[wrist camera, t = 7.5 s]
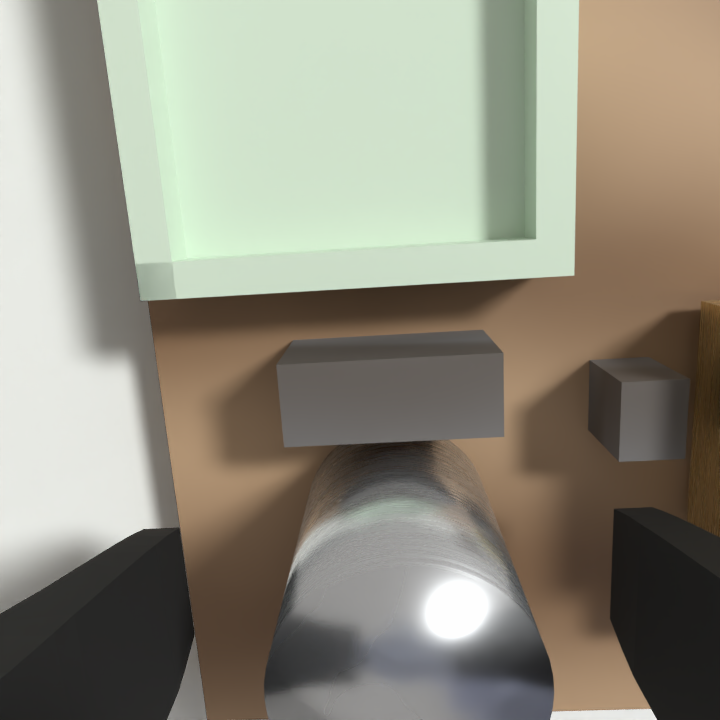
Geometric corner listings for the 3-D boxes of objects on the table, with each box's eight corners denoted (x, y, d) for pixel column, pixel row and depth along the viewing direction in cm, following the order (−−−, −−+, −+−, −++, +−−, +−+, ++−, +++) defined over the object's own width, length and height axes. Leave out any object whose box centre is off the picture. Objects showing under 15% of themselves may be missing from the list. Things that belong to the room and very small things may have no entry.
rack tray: (547, 266, 11) (574, 275, 10) (172, 289, 12) (140, 301, 10) (551, -226, 10) (584, -310, 8) (110, -184, 10) (59, -258, 8)
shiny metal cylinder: (487, 584, 13) (552, 809, 8) (315, 589, 13) (276, 814, 8) (484, 420, 12) (556, 560, 7) (301, 428, 12) (249, 571, 7)
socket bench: (953, 665, 14) (1103, 783, 11) (218, 687, 15) (179, 803, 12) (1130, -291, 10) (1440, -500, 7) (100, -192, 11) (-5, -343, 8)
